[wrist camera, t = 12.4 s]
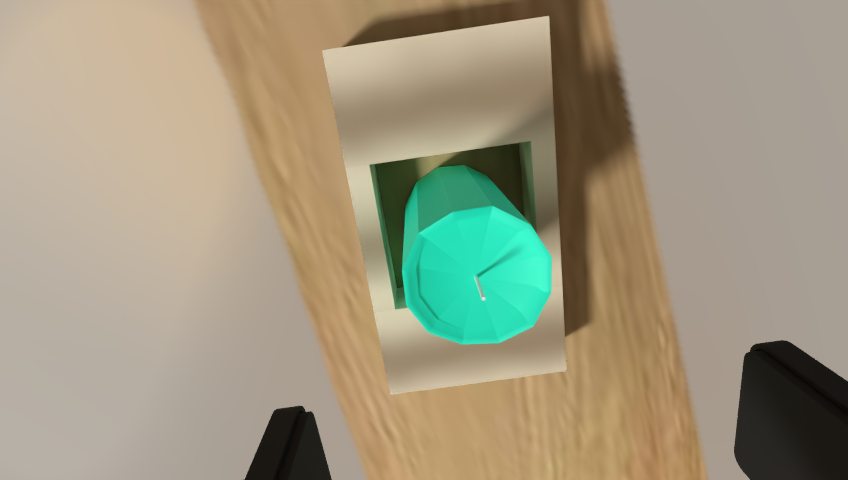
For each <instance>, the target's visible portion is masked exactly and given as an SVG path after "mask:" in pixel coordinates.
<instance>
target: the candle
mask: <svg viewBox="0 0 848 480" xmlns="http://www.w3.org/2000/svg"><path fill="white" fill-rule="evenodd" d="M402 275H403V283H404V292H405V300H406V306H407V307H408V308H409V310H410V311H411V312H412V313H413V314H414V316H415V317H416V318H417V319H418V321H419V322H420V323H421V324H422V325H423V327H424V328H425V329H426V330H427V332H428V333H431V334H434V335H436V336H439V337H442V338H445V339H448V340H451V341H453V342H456V343H459V344H488V343H501V342H503V341H505V340H507V339H509V338H511V337H513V336H515V335H517V334H519V333H521V332H523V331H525V330H527V329H529V328H532V327H533V326H534V325H535V323H536V321H537V319H538V317H539V315H540V313H541V311H542V310H543V308H544V306H545V304H546V302H547V300H548V298H549V296H550V294H551V287H552V256H551V255H550V253H549V252H548V250H547V249H546V247H545V246H544V244H543V243H542V241H541V240H540V238H539V237H538V235H537V233H536V232H535V230H534V229H533V227H532V226H531V224H530V223H529V222H528V221H527V220H526V219H525V218H524V217H523V215H522V214H521V213H520V212H519V211H518V210H517V209H516V208H515V206H514V205H513V204H512V203H511V202H510V201H509V200H508V199H507V198H506V196H505V195H504V194H503V193H502V192H501V191H500V190H499V189H498V187H497V186H496V185H495V184H494V183H493V182H492V181H491V180H490V178H489V177H488V176H487V175H485V174H482V173H480V172H478V171H476V170H474V169H472V168H470V167H467V166H465V165H456V166H445V167H437V168H436V169H434V170H433V171H432V172H430V173H429V174H427V175H426V176H424V177H423V178H422V179H420V180H419V181H417V182H416V184H415V186H414V188H413V190H412V193H411V195H410V197H409V199H408V201H407V203H406V208H405V226H404V243H403V261H402Z"/></svg>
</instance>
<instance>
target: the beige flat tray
mask: <svg viewBox="0 0 848 480" xmlns="http://www.w3.org/2000/svg"><path fill="white" fill-rule="evenodd" d="M322 52H323V57H324V62H325V67H326V72H327V77H328V82H329V87H330V92H331V97H332V102H333V107H334V112H335V117H336V123H337V128H338V133H339V138H340V143H341V148H342V153H343V158H344V163H345V168H346V173H347V178H348V183H349V188H350V193H351V198H352V203H353V208H354V213H355V219H356V224H357V229H358V234H359V239H360V244H361V249H362V254H363V259H364V264H365V269H366V274H367V279H368V284H369V289H370V294H371V299H372V304H373V310H374V315H375V320H376V325H377V330H378V335H379V340H380V345H381V350H382V355H383V360H384V365H385V370H386V375H387V380H388V385H389V390H390V395H392V394H399V393H407V392H414V391H421V390H429V389H436V388H444V387H451V386H458V385H466V384H473V383H480V382H488V381H495V380H502V379H510V378H517V377H525V376H532V375H539V374H547V373H554V372H561V371H567V370H566V349H565V329H564V309H563V288H562V268H561V248H560V227H559V207H558V187H557V167H556V146H555V126H554V106H553V85H552V65H551V45H550V24H549V16H544V17H537V18H531V19H524V20H518V21H511V22H505V23H498V24H491V25H485V26H478V27H472V28H465V29H459V30H452V31H446V32H439V33H433V34H426V35H420V36H413V37H406V38H400V39H393V40H387V41H380V42H374V43H367V44H361V45H354V46H348V47H341V48H334V49H328V50H322ZM513 143H519V154H520V167H521V181H522V194H523V207H524V218H525V219H526V220H527V221H528V222H529V223H530V224H531V226H532V227H533V229H534V230H535V232H536V233H537V235H538V237H539V238H540V240H541V241H542V243H543V244H544V246H545V247H546V249H547V250H548V252H549V253H550V255H551V256H552V287H551V294H550V296H549V298H548V300H547V302H546V304H545V306H544V308H543V310H542V311H541V313H540V315H539V317H538V319H537V321H536V323H535V325H534V326H533V327H532V328H529V329H527V330H525V331H523V332H521V333H519V334H517V335H515V336H513V337H511V338H509V339H507V340H505V341H503V342H501V343H488V344H459V343H456V342H453V341H451V340H448V339H445V338H442V337H439V336H436V335H434V334H431V333H428V332H427V330H426V329H425V328H424V327H423V325H422V324H421V323H420V322H419V321H418V319H417V318H416V317H415V316H414V314H413V313H412V312H411V311H410V310H409V308H408V307H407V306H406V300H405V292H404V287H402V288H397V285H396V280H395V274H394V268H393V263H392V257H391V251H390V246H389V240H388V234H387V229H386V223H385V217H384V212H383V206H382V200H381V195H380V189H379V183H378V178H377V172H376V166H375V164H377V163H384V162H391V161H398V160H405V159H411V158H418V157H425V156H432V155H439V154H445V153H452V152H459V151H466V150H473V149H479V148H486V147H493V146H500V145H507V144H513Z"/></svg>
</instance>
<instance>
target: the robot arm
mask: <svg viewBox="0 0 848 480" xmlns="http://www.w3.org/2000/svg"><path fill="white" fill-rule="evenodd" d="M734 454H735V458H736V461H737V462H738V465H739V466H740V468H741V469H742V471H743V472H744V473H745V474H746V475H747V476H748V477H749V479H750V480H848V381H846V380H845V379H843V378H842V377H840V376H839V375H837V374H836V373H834V372H833V371H831V370H830V369H829V368H827V367H826V366H824V365H823V364H821V363H820V362H818V361H817V360H815V359H814V358H812V357H811V356H809V355H808V354H807V353H805V352H804V351H802V350H801V349H799V348H798V347H796V346H795V345H793V344H792V343H790V342H788V341H783V340H781V341H774V342H766V343H760V344H755V345H753V346H752V347H751V350H750V352H748V353H746V354H745V356H744V363H743V372H742V381H741V390H740V401H739V409H738V419H737V428H736V437H735V447H734ZM245 480H332V479H331V476H330V472H329V468H328V465H327V461H326V457H325V454H324V450H323V446H322V443H321V439H320V435H319V432H318V428H317V425H316V421H315V417H314V414H313V413H312V412H311V411H310V412H305V409H304V408H303V406H295V407H289V408H281V409H276V410H275V411H274V412H273V414H272V416H271V419H270V421H269V423H268V426H267V428H266V430H265V433H264V435H263V437H262V440H261V442H260V445H259V447H258V449H257V452H256V454H255V457H254V459H253V461H252V464H251V466H250V468H249V471H248V473H247V475H246V478H245Z"/></svg>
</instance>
